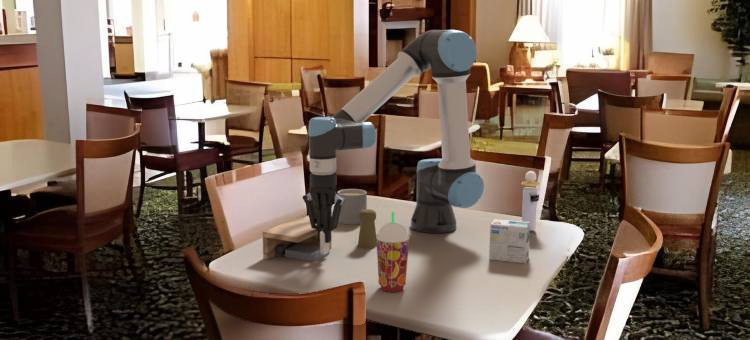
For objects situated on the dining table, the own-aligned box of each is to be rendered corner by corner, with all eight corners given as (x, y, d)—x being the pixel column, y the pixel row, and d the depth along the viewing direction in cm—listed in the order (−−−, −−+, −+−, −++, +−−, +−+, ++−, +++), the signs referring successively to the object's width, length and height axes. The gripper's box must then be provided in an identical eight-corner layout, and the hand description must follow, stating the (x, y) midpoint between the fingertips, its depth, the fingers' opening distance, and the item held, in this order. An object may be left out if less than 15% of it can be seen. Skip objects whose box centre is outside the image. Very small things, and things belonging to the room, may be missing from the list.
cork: (375, 248, 217) (375, 213, 214) (355, 247, 218) (355, 211, 216) (379, 242, 222) (379, 208, 220) (360, 241, 224) (360, 207, 221)
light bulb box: (529, 257, 210) (531, 221, 207) (526, 264, 203) (528, 227, 201) (492, 253, 213) (494, 217, 211) (488, 260, 207) (489, 223, 205)
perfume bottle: (515, 230, 237) (518, 170, 233) (527, 227, 240) (529, 168, 237) (529, 234, 232) (532, 173, 229) (540, 231, 236) (544, 171, 232)
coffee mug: (368, 223, 244) (368, 195, 242) (338, 224, 242) (338, 195, 240) (363, 213, 257) (363, 186, 255) (335, 214, 255) (335, 187, 253)
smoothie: (374, 283, 187) (374, 208, 183) (406, 282, 188) (407, 207, 184) (377, 294, 179) (377, 216, 175) (410, 293, 180) (411, 216, 176)
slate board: (329, 255, 211) (329, 247, 211) (314, 263, 204) (314, 254, 204) (300, 250, 216) (300, 242, 215) (285, 258, 209) (285, 249, 208)
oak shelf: (331, 248, 217) (331, 222, 215) (298, 265, 201) (298, 237, 199) (298, 242, 222) (297, 217, 220) (263, 258, 206) (262, 231, 205)
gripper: (296, 172, 202) (298, 253, 207) (336, 176, 197) (337, 259, 201) (310, 168, 209) (312, 246, 213) (349, 171, 203) (350, 252, 207)
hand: (324, 253), depth 207 cm, fingers closed
